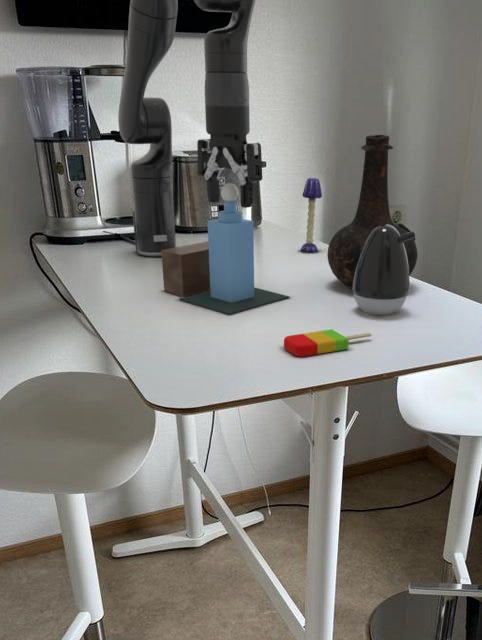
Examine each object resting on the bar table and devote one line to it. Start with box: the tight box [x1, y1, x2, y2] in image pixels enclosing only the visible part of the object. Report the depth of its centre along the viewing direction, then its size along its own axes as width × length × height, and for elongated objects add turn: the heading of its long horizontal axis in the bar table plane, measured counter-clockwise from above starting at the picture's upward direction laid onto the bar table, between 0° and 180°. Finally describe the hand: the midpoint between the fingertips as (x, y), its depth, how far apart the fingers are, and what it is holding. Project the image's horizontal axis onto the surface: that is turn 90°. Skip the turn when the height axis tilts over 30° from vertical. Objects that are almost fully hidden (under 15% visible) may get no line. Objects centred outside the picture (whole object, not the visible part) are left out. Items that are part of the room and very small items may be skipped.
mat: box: [178, 287, 290, 316], centre depth 135 cm, size 14×16×1 cm
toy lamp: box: [300, 177, 323, 254], centre depth 168 cm, size 5×5×17 cm
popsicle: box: [283, 328, 372, 358], centre depth 111 cm, size 6×15×2 cm, turn 116°
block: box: [161, 241, 210, 298], centre depth 139 cm, size 6×12×8 cm, turn 137°
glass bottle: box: [326, 134, 418, 289], centre depth 136 cm, size 18×18×28 cm
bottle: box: [207, 182, 255, 303], centre depth 130 cm, size 14×6×19 cm, turn 47°
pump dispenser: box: [352, 224, 417, 316], centre depth 124 cm, size 10×10×15 cm
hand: (229, 204), depth 126 cm, fingers open, 8 cm apart
